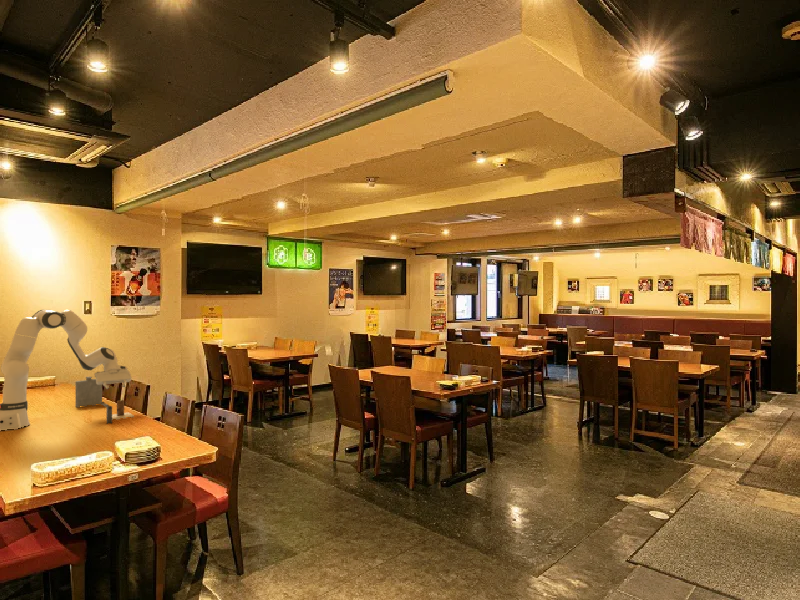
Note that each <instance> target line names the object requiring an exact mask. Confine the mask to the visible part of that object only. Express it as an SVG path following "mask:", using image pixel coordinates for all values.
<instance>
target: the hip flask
mask: <svg viewBox="0 0 800 600" xmlns="http://www.w3.org/2000/svg"><path fill="white" fill-rule="evenodd" d="M85 379H86V380H76V381H75V408H81V407H80V406H84V407H88V406H87V405H92V406H97V405H96V404H101V402H103V384H101V385H97V384H96V378H93V376H86V377H85Z"/></svg>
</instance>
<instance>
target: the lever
mask: <svg viewBox="0 0 800 600" xmlns="http://www.w3.org/2000/svg"><path fill="white" fill-rule="evenodd" d="M101 405H102V406H104V407H105V408H106V424H107V425H109V424H108V423H111V424H113V420H112V415H113V406H112V405H109V404H107V403H105V401H102V402H101ZM101 405H100V406H101Z"/></svg>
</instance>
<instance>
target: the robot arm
mask: <svg viewBox="0 0 800 600" xmlns="http://www.w3.org/2000/svg"><path fill="white" fill-rule="evenodd" d="M59 327H61V328H62V329H63V330H64V331H65V332H66V334H67V336H68V337H67V339H66V341H67V343H68V345H69V347H70V349H71V350H72V352H73V354H74V355H75V357H76V359H77V360H78V362H79V364H80V366H81V368H82V369H83V370H86V371H93V370H94V369H96V368H97V367H99V366H100V365H102V367H103V371H96V372H95V373H94V378H95V379H96V384H97V385H101V384H102V387H105V389H106V390H109V388H110V387H109V386H110V384H111V385H112V384H121V383H122V385H121V388H126V383H131V381H132V374H131V372H130V370H128V366H125V365H120V364H119V363H118V358H117V355H116V353H115V351H114V350H113V349H110V348H108V347H105V346H102V347H99V348H97V349H95V350H94V351H92V352H90V353H88V354H86V353H85V352H84V350H83V349H82V347H81V346H80V342H82V340H83V339H84V338H85V336H86V334H87V333H88V326H87V324H86V323H85V322H84V321H83V319H82V318H81V317H80V316H79V315H77V313H75V312H74V311H72V310H70V309H65V310H62V311H61V312H59V311H56V310H51V309H40V310H38V311H36V312H35V313H34V314H32V316H29V317H28V316H27V317H23V318H22V319H21V320H20V321H19V323H18V325H17V327H16V329H15V331H14V334H13V337H12V340H11V342H10V343H11V344H10V345H9V348H8V350H7V352H6V354H5V357H4V359H3V360H2V364H1V365H0V370H1V374H3V375H4V380H3V386H2V403H0V432H2V431H1V430H5V431H8V430H7V429H14V430H19V429H18V428H20V429H21V427H22V428H24V426H26V427H29V426H30V425H31V423H30V421H29V415H28V410H29V403H28V400H27V396H28V395H27V393H28V392H27V390H28V389H27V388H28V381H29V371H30V367H29V365H28V360H29V358H30V356H31V354H32V353H33V351H34V348H35V345H36V341H37V339H38V335H39V333H40V331H41V330H42V329H50V330H51V329H57V328H59ZM28 425H29V426H28Z"/></svg>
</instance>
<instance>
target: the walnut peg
mask: <svg viewBox="0 0 800 600" xmlns="http://www.w3.org/2000/svg"><path fill="white" fill-rule="evenodd" d="M124 413H125V400H123V399H119V400H117V401H116V414H117V416H123V415H124Z"/></svg>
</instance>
